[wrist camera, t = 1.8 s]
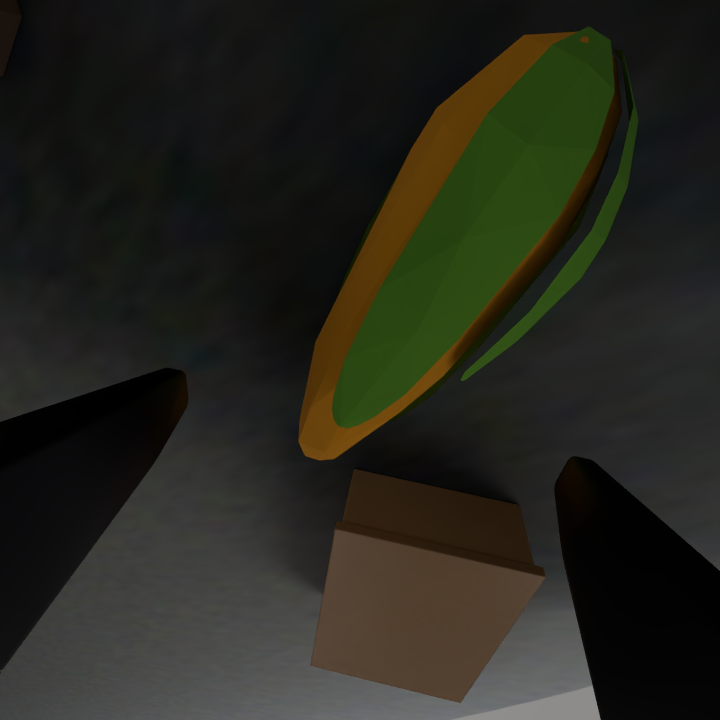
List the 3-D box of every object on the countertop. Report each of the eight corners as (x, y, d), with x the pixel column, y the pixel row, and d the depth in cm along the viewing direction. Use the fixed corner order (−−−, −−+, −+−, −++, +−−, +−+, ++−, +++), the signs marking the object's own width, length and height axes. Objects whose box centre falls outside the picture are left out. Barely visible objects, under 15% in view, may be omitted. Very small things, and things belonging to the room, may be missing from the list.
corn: (815, 102, 8) (358, 558, 18) (654, 125, 15) (383, 450, 25) (522, -111, 8) (217, 477, 18) (491, 12, 14) (281, 389, 24)
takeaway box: (350, 464, 26) (334, 528, 22) (526, 502, 25) (546, 577, 21) (324, 599, 34) (310, 666, 30) (456, 631, 34) (460, 703, 29)
